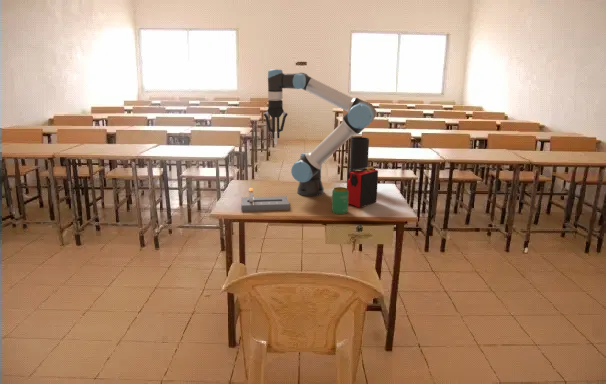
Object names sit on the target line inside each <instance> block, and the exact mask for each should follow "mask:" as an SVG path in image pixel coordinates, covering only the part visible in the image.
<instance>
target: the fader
mask: <svg viewBox="0 0 606 384" xmlns="http://www.w3.org/2000/svg"><path fill="white" fill-rule="evenodd" d="M248 194H249V195H248V197H249V202H253V197H254V187H249V188H248Z"/></svg>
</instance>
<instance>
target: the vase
mask: <svg viewBox="0 0 606 384" xmlns="http://www.w3.org/2000/svg"><path fill="white" fill-rule="evenodd" d="M369 145H370V138H368V137H361V136H357V137H355V136H354V137H350V154H349V155H350V156H349V157H350V158H349V163H350V164H349V172H350V171H353V169H359V168H365V167H368V165H369V148H370V146H369Z"/></svg>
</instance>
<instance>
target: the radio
mask: <svg viewBox="0 0 606 384" xmlns="http://www.w3.org/2000/svg"><path fill="white" fill-rule="evenodd" d="M347 178H348V179H347V181H346V188H347V190H348V192H349V194H348V205H352V206H355V207H356V208H359V209H360V208H363V207H366V206H368V205H372V204H374V203H377V197H378V181H379V169H376V168H374V166H369V167H365V168H359V169H353V171H350V170H349V171H348V174H347Z"/></svg>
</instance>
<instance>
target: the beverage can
mask: <svg viewBox="0 0 606 384" xmlns="http://www.w3.org/2000/svg"><path fill="white" fill-rule="evenodd" d="M331 192H332V193H331V194H332V196H331V211H332V213H333V214H335V213H336V214H335V215H345V214H347V213H348V211H349V202H348V194H349V192H348V190H347V187H342V186H337V187H334V188H333V190H332V191H331Z"/></svg>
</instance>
